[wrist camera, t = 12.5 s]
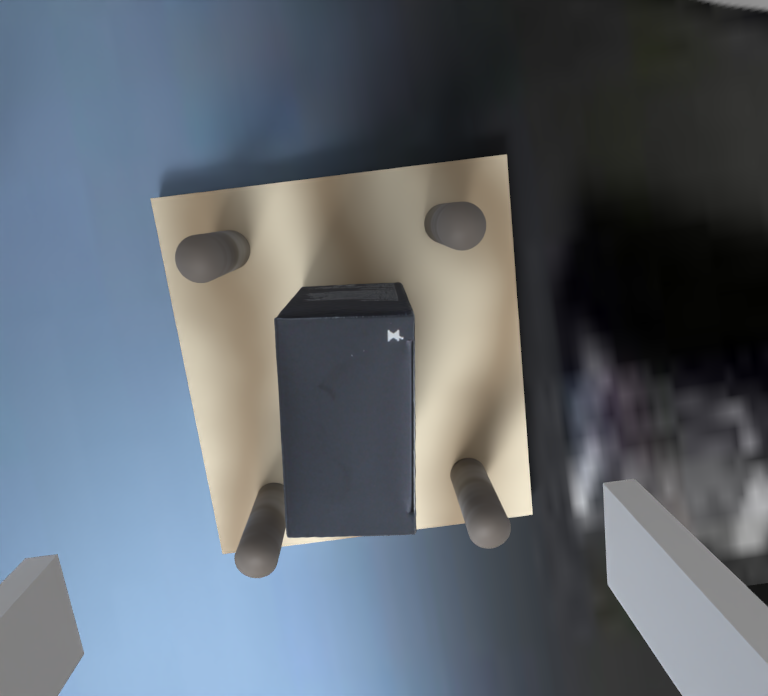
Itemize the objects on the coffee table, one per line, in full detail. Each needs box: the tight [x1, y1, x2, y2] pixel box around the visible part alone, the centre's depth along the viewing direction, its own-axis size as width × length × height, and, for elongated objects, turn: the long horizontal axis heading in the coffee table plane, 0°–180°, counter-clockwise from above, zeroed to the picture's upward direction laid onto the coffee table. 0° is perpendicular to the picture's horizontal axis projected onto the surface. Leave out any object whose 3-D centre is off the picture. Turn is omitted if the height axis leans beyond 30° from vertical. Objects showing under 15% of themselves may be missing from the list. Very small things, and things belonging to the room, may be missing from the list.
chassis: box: [151, 154, 533, 578], centre depth 30 cm, size 18×20×7 cm
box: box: [274, 282, 417, 538], centre depth 28 cm, size 9×6×10 cm, turn 1°
